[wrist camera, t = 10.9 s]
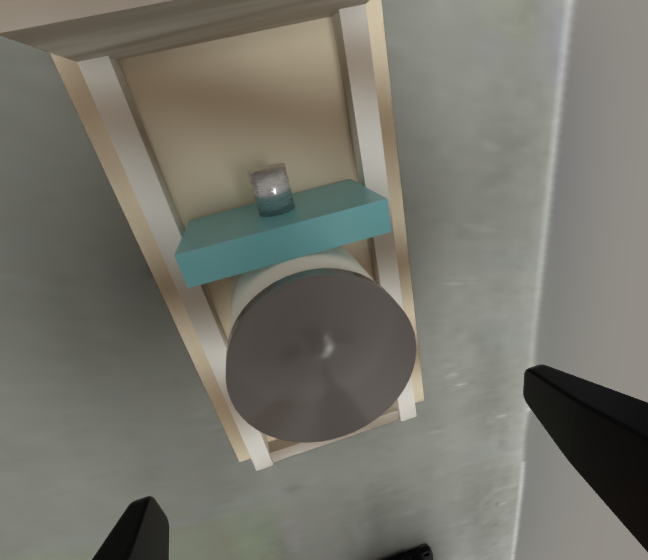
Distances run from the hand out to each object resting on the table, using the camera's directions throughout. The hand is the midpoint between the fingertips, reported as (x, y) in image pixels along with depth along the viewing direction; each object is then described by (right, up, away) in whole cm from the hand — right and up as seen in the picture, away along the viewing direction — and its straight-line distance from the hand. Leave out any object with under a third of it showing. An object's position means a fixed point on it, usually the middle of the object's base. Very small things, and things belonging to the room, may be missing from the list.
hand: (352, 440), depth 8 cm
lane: (-2, +4, +10) cm, 11 cm away
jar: (-2, +4, +9) cm, 10 cm away
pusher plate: (-3, +7, +7) cm, 11 cm away
